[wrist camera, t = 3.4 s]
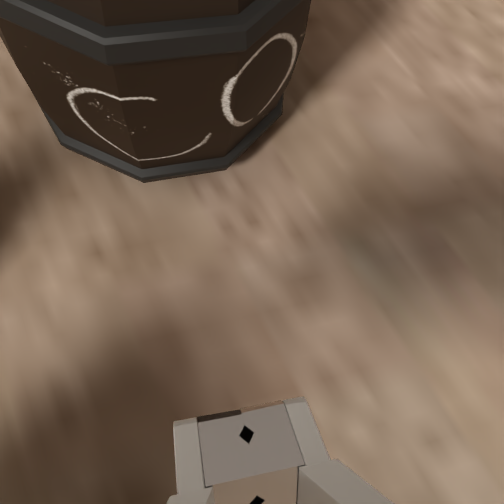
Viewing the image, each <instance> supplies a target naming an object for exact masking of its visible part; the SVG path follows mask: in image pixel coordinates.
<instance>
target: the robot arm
mask: <svg viewBox="0 0 504 504" xmlns="http://www.w3.org/2000/svg"><path fill="white" fill-rule="evenodd" d="M197 422H198V424H197ZM173 435H174V452H175V468H176V484H177V494H176V495H172V496H170V497H169V499H168V501H167V503H166V504H394V503H393V502H392V501H390V500H389V499H388V498H387V497H385V496H384V495H383V494H382V493H380V492H379V491H378V490H376V489H375V488H374V487H373V486H371V485H370V484H369V483H368V482H366V481H365V480H364V479H363V478H361V477H360V476H359V475H357V474H356V473H355V472H354V471H352V470H351V469H350V468H349V467H347V466H346V465H345V464H344V463H342V462H341V461H340V460H338V459H333V460H331V459H330V456H329V454H328V451H327V449H326V447H325V444H324V442H323V439H322V437H321V434H320V432H319V429H318V427H317V424H316V422H315V419H314V417H313V415H312V412H311V410H310V407H309V405H308V402H307V400H306V399H305V398H304V397H303V396H302V397H297V398H292V399H287V400H282V401H281V400H279V401H274V402H270V403H265V404H260V405H255V406H251V407H246V408H241V409H240V410H235V411H229V412H223V413H217V414H211V415H206V416H200V417H197V418H196V417H194V418H189V419H183V420H178V421H174V425H173Z"/></svg>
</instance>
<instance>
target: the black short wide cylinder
mask: <svg viewBox="0 0 504 504" xmlns="http://www.w3.org/2000/svg"><path fill="white" fill-rule="evenodd" d="M310 3H311V0H0V37H1V38H2V40H3V42H4V44H5V46H6V48H7V49H8V51H9V53H10V55H11V57H12V59H13V60H14V62H15V64H16V66H17V68H18V69H19V71H20V73H21V74H22V76H23V77H24V79H25V81H26V82H27V84H28V86H29V87H30V89H31V91H32V93H33V95H34V96H35V98H36V100H37V102H38V104H39V106H40V107H41V109H42V111H43V113H44V115H45V116H46V118H47V120H48V122H49V124H50V126H51V127H52V129H53V131H54V133H55V135H56V137H57V138H58V140H59V142H60V144H61V145H62V146H64V147H66V148H67V149H69V150H72V151H74V152H76V153H78V154H81V155H83V156H85V157H87V158H89V159H92V160H94V161H96V162H98V163H101V164H103V165H105V166H107V167H110V168H112V169H114V170H116V171H119V172H121V173H123V174H125V175H128V176H130V177H132V178H134V179H137V180H139V181H141V182H143V183H146V182H152V181H159V180H165V179H172V178H178V177H184V176H191V175H197V174H203V173H210V172H216V171H222V170H226V169H227V168H228V167H229V166H230V165H231V164H232V163H233V162H234V161H235V160H236V159H237V158H238V157H239V156H240V155H241V154H242V153H243V152H244V151H245V150H246V149H247V148H248V147H250V146H251V145H252V144H253V143H254V142H255V141H256V140H257V139H258V138H259V137H260V136H261V135H262V134H263V133H264V132H265V131H266V130H267V129H268V128H269V127H270V126H271V125H272V124H273V123H274V122H275V121H276V120H277V119H278V118H279V117H280V116H281V115H282V107H283V94H284V90H285V88H286V86H287V84H288V82H289V81H290V79H291V76H292V73H293V70H294V67H295V64H296V61H297V58H298V55H299V51H300V48H301V45H302V42H303V39H304V36H305V31H306V25H307V19H308V14H309V8H310Z"/></svg>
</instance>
